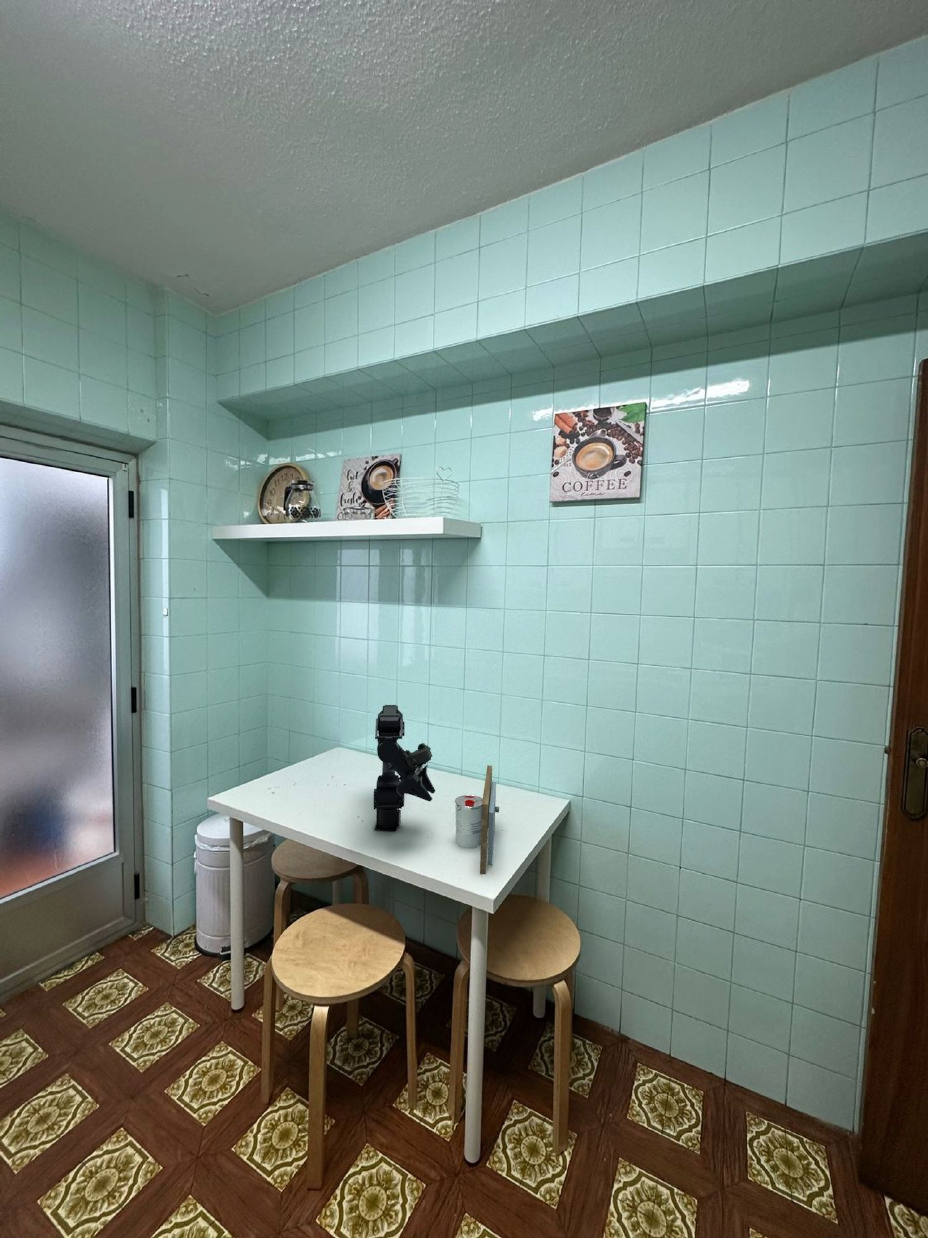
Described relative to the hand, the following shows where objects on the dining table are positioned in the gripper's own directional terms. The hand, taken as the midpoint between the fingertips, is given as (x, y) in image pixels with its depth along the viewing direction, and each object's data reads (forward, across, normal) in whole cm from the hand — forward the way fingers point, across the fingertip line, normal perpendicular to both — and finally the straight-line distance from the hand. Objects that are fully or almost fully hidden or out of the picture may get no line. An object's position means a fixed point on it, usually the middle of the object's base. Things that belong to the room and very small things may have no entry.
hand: (432, 796), depth 145 cm
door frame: (+20, -2, -2) cm, 20 cm away
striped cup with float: (+16, 0, +2) cm, 17 cm away
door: (+21, -1, -4) cm, 22 cm away
